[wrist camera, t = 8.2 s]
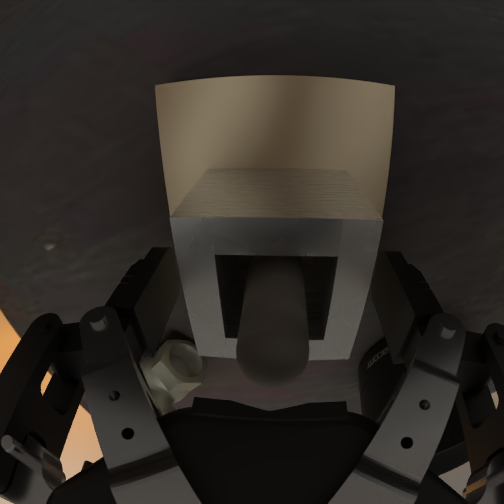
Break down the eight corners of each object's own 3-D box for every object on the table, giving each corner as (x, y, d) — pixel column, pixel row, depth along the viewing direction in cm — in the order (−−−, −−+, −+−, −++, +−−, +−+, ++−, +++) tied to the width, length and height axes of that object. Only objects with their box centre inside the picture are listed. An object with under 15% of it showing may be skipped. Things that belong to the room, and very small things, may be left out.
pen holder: (463, 302, 17) (519, 414, 9) (448, 371, 21) (475, 460, 13) (346, 337, 19) (366, 473, 11) (356, 398, 24) (367, 495, 15)
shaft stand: (383, 85, 11) (534, 108, 3) (350, 318, 18) (376, 454, 10) (167, 85, 12) (10, 107, 4) (198, 314, 19) (160, 447, 11)
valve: (123, 352, 22) (73, 473, 12) (153, 314, 20) (90, 472, 9) (187, 387, 24) (158, 507, 14) (229, 359, 21) (203, 511, 11)
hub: (346, 170, 12) (383, 220, 8) (333, 283, 15) (348, 358, 11) (207, 169, 12) (169, 217, 8) (218, 281, 15) (198, 355, 11)
